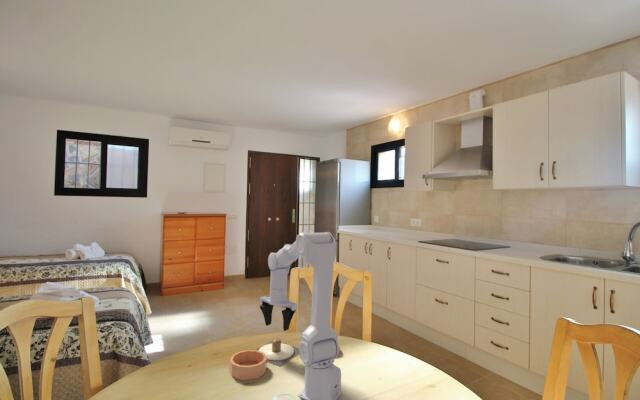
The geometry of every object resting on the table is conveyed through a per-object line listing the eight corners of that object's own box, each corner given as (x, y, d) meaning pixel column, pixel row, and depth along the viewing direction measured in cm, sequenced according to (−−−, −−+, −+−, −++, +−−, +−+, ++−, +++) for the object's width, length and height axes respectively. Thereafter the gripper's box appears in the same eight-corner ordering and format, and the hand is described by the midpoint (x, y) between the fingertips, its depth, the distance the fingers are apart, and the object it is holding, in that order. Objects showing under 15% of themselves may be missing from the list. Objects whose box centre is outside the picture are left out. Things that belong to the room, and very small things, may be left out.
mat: (304, 351, 114) (304, 349, 114) (280, 367, 102) (280, 366, 102) (272, 341, 121) (272, 340, 121) (246, 356, 109) (246, 354, 109)
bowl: (273, 368, 102) (273, 355, 102) (249, 384, 92) (249, 370, 92) (247, 359, 107) (247, 347, 107) (222, 373, 98) (222, 360, 98)
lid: (300, 350, 114) (300, 338, 114) (279, 364, 104) (280, 351, 104) (273, 341, 120) (273, 330, 120) (251, 354, 110) (251, 342, 110)
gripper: (302, 288, 112) (301, 328, 112) (269, 282, 119) (267, 319, 119) (290, 293, 106) (289, 335, 106) (256, 286, 113) (254, 325, 113)
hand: (277, 327), depth 112 cm, fingers open, 7 cm apart
